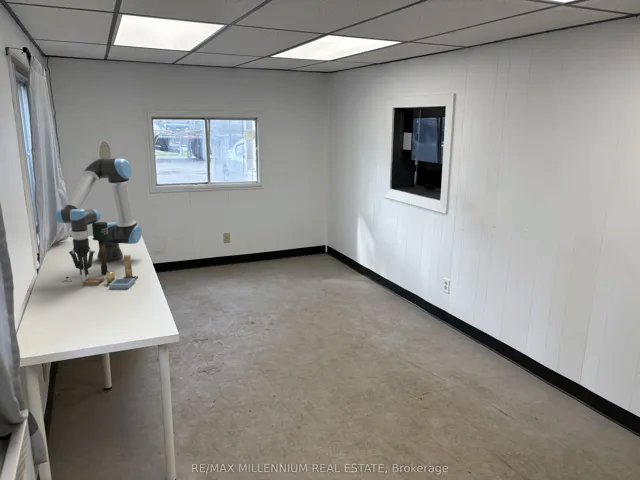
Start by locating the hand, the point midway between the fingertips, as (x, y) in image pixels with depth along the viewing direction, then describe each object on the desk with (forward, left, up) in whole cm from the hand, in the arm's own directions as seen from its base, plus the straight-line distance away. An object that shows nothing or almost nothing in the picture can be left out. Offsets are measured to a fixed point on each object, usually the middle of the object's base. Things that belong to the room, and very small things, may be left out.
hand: (85, 280), depth 259 cm
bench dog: (0, +14, -2) cm, 14 cm away
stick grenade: (-16, +4, -2) cm, 17 cm away
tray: (+5, +22, -2) cm, 22 cm away
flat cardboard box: (0, +5, -2) cm, 5 cm away
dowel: (-5, +22, -2) cm, 22 cm away
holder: (-5, +22, -2) cm, 22 cm away
